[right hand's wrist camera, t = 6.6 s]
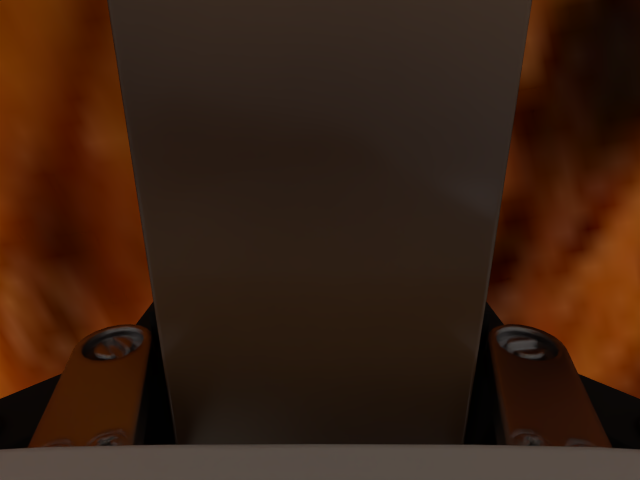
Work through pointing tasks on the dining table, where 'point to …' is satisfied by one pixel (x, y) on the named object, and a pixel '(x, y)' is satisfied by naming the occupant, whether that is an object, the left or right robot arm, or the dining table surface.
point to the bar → (319, 208)
